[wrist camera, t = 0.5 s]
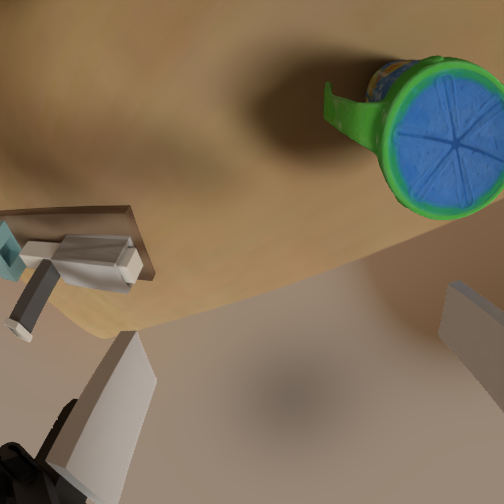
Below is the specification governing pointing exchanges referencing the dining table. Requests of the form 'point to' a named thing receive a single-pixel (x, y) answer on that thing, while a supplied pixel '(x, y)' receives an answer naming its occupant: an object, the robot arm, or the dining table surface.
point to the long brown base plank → (84, 242)
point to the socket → (10, 255)
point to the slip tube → (51, 284)
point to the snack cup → (430, 133)
